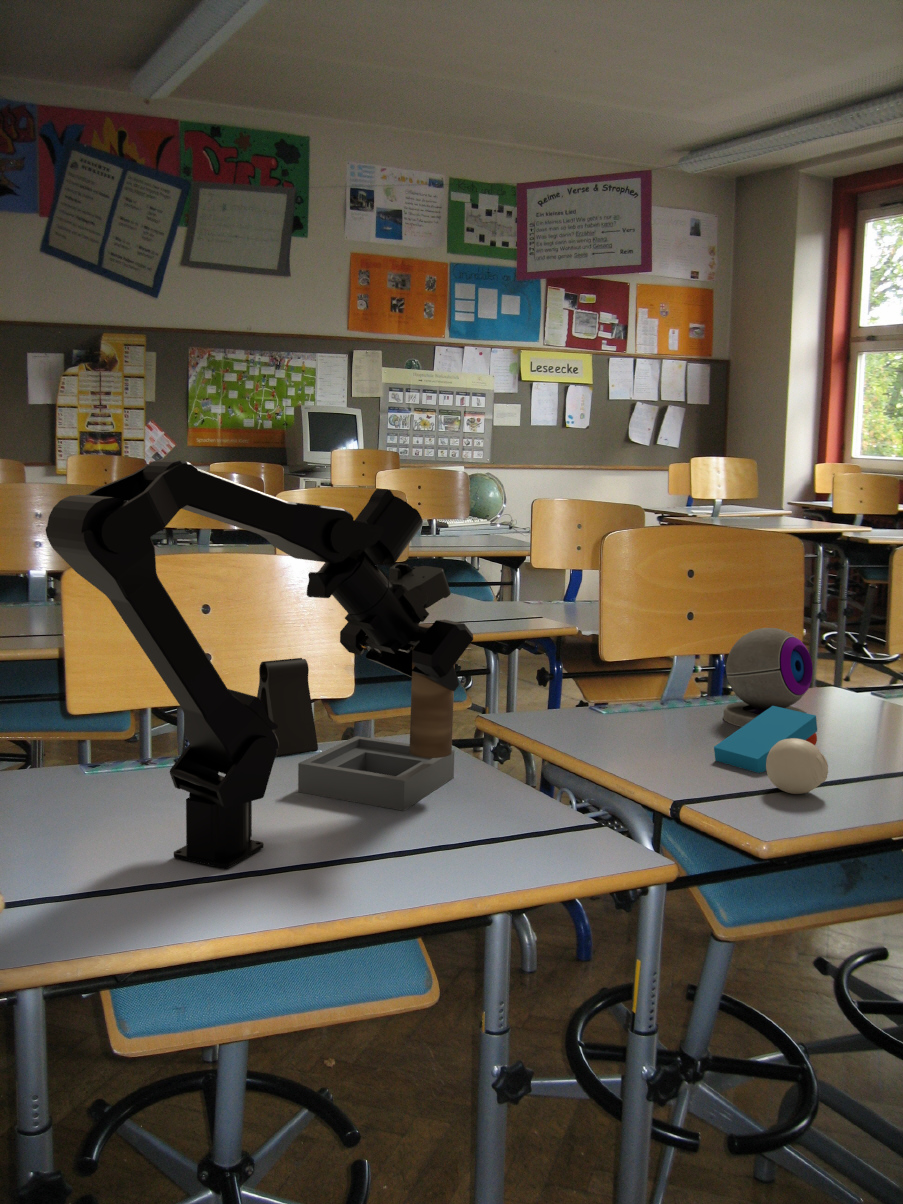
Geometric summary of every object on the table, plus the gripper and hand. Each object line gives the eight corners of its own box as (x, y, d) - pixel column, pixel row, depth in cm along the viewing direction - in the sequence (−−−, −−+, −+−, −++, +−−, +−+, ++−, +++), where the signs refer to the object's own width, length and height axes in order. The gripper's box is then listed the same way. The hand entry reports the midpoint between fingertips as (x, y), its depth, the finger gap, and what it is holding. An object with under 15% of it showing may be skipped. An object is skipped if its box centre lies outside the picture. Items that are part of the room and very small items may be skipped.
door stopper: (318, 750, 138) (319, 664, 137) (277, 757, 135) (278, 668, 133) (288, 735, 145) (289, 652, 144) (249, 741, 142) (249, 656, 140)
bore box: (403, 810, 115) (404, 780, 115) (298, 791, 121) (298, 763, 120) (453, 777, 128) (454, 750, 127) (356, 762, 133) (356, 736, 133)
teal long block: (762, 806, 135) (833, 749, 145) (757, 759, 133) (830, 705, 143) (718, 792, 140) (790, 738, 151) (713, 747, 138) (786, 695, 148)
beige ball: (819, 805, 121) (823, 751, 120) (757, 793, 125) (761, 740, 124) (832, 791, 127) (836, 739, 126) (773, 780, 130) (776, 729, 130)
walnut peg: (440, 760, 117) (444, 631, 115) (401, 753, 119) (405, 627, 117) (458, 750, 122) (463, 626, 120) (421, 744, 124) (425, 622, 122)
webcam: (780, 736, 152) (787, 637, 150) (706, 719, 162) (712, 626, 160) (822, 723, 161) (829, 629, 159) (750, 707, 171) (756, 619, 169)
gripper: (463, 549, 108) (533, 644, 116) (363, 537, 122) (432, 622, 130) (401, 628, 104) (478, 720, 112) (305, 605, 118) (380, 689, 126)
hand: (441, 683), depth 120 cm, fingers closed on walnut peg, 5 cm apart
